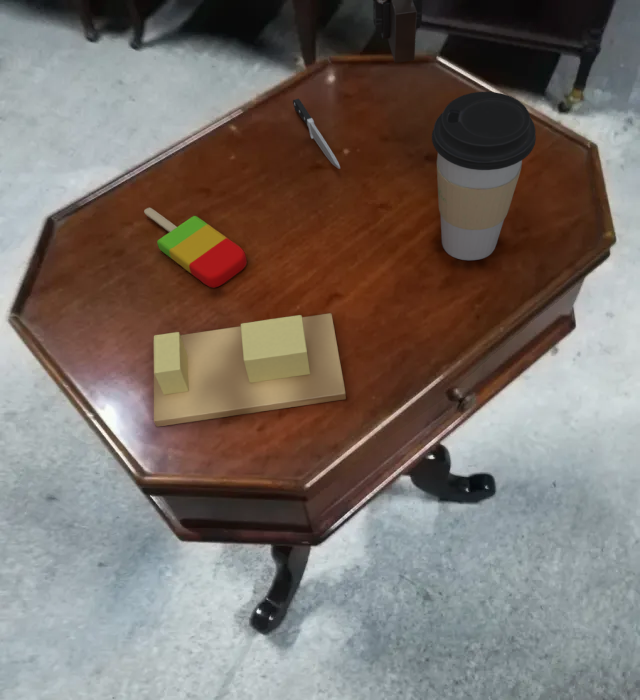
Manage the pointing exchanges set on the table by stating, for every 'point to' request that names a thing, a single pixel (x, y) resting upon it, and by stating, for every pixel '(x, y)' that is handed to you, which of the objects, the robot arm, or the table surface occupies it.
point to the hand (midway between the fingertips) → (397, 32)
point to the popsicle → (200, 249)
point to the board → (233, 383)
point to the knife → (315, 132)
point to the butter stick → (274, 349)
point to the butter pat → (170, 363)
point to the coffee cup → (479, 168)
